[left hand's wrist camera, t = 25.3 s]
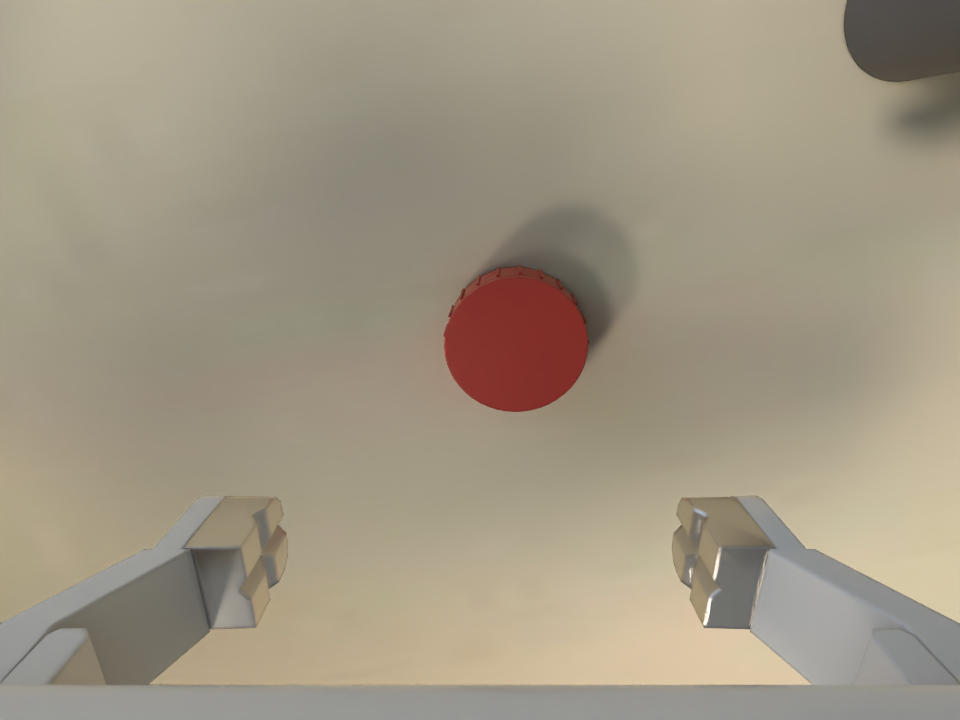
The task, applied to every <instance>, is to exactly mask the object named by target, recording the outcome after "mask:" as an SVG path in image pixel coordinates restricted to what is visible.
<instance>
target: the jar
mask: <svg viewBox="0 0 960 720" xmlns="http://www.w3.org/2000/svg"><path fill="white" fill-rule="evenodd" d="M844 26H845V37H846V41H847V45H848V48H849V51H850V53H851V55H852V57H853V58H854V60H855V61H856V62H857V64H858V65H859V66H860V67H861V68H862V69H863V70H864V71H866V72H867V73H869V74H870V75H872V76H874V77H876V78H879V79H882V80H887V81H896V82H898V81H908V80H914V79H919V78H925V77H930V76H936V75H942V74H947V73H953V72H958V71H960V0H848V2H847V6H846V12H845V23H844Z"/></svg>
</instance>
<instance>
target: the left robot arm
mask: <svg viewBox="0 0 960 720" xmlns="http://www.w3.org/2000/svg"><path fill="white" fill-rule="evenodd" d="M282 517H283V510H282V505H281V501H280V500H279V499H278V498H277V497H248V496H228V497H227V496H203V497H200V498H198V499H197V500H196V501H195V502H194V503H193V504H192V505H191V507H190V508H189V509H188V510H187V511H186V512H185V513H184V515H183V516H182V517H181V518H180V519H179V520H178V522H177V523H176V524H175V525H174V526H173V527H172V528H171V530H170V531H169V532H168V533H167V534H166V535H165V536H164V538H163V539H162V540H161V541H160V542H159V543H158V544H157V546H156V547H155V548H154V549H145V550H143V551H141V552H139V553H137V554H135V555H133V556H131V557H129V558H127V559H125V560H123V561H121V562H119V563H117V564H115V565H113V566H111V567H109V568H107V569H106V570H104V571H102V572H100V573H98V574H96V575H94V576H92V577H90V578H88V579H86V580H84V581H82V582H80V583H78V584H76V585H74V586H72V587H70V588H68V589H67V590H65V591H63V592H61V593H59V594H57V595H55V596H53V597H51V598H49V599H47V600H45V601H43V602H41V603H39V604H37V605H35V606H33V607H31V608H29V609H27V610H26V611H24V612H22V613H20V614H18V615H16V616H14V617H12V618H10V619H8V620H6V621H4V622H2V623H0V720H960V624H959V623H957V622H956V621H954V620H952V619H950V618H948V617H946V616H944V615H942V614H940V613H938V612H936V611H934V610H932V609H930V608H928V607H926V606H924V605H922V604H920V603H919V602H917V601H915V600H913V599H911V598H909V597H907V596H905V595H903V594H901V593H899V592H897V591H895V590H893V589H891V588H889V587H887V586H885V585H884V584H882V583H880V582H878V581H876V580H874V579H872V578H870V577H868V576H866V575H864V574H862V573H860V572H858V571H856V570H854V569H852V568H850V567H849V566H847V565H845V564H843V563H841V562H839V561H837V560H835V559H833V558H831V557H829V556H827V555H825V554H823V553H821V552H819V551H817V550H815V549H806V548H805V547H804V546H803V544H802V543H801V542H800V541H799V540H798V539H797V538H796V536H795V535H794V534H793V533H792V532H791V531H790V530H789V528H788V527H787V526H786V525H785V524H784V523H783V522H782V520H781V519H780V518H779V517H778V516H777V515H776V514H775V512H774V511H773V510H772V509H771V508H770V507H769V506H768V504H767V503H766V502H765V501H764V500H763V499H762V498H760V497H758V496H732V497H698V498H681V500H680V502H679V504H678V509H677V517H678V518H679V520H680V522H681V524H682V525H681V526H680V527H679V528H678V529H677V530H676V531H675V532H674V534H673V543H672V553H673V562H674V565H675V569H676V572H677V574H678V576H679V578H680V581H681V582H682V583H684V584H685V585H686V586H688V587H689V588H691V595H690V601H691V603H692V605H693V607H694V609H695V611H696V613H697V615H698V617H699V619H700V621H701V623H702V625H703V627H704V628H727V629H750V632H751V633H752V634H754V635H755V636H756V637H757V638H758V639H760V640H761V641H762V642H763V643H764V644H765V645H767V646H768V647H769V648H770V649H771V650H772V651H774V652H775V653H776V654H777V655H778V656H779V657H781V658H782V659H783V660H784V661H785V662H786V663H788V664H789V665H790V666H791V667H792V668H793V669H795V670H796V671H797V672H798V673H799V674H800V675H802V676H803V677H804V678H805V679H806V680H807V681H809V682H810V683H811V684H812V685H148V684H149V683H150V682H151V681H153V680H154V679H155V678H156V677H157V676H158V675H160V674H161V673H162V672H163V671H164V670H166V669H167V668H168V667H169V666H170V665H171V664H173V663H174V662H175V661H176V660H177V659H178V658H180V657H181V656H182V655H183V654H184V653H185V652H187V651H188V650H189V649H190V648H191V647H193V646H194V645H195V644H196V643H197V642H198V641H200V640H201V639H202V638H203V637H204V636H205V635H207V634H208V633H209V632H210V629H232V628H256V627H257V625H258V623H259V621H260V619H261V617H262V615H263V613H264V611H265V609H266V607H267V605H268V603H269V601H270V595H269V588H271V587H272V586H274V585H275V584H276V583H278V582H279V581H280V578H281V576H282V574H283V572H284V569H285V565H286V560H287V556H288V541H287V534H286V532H285V531H284V530H283V529H282V528H281V527H280V526H279V525H278V524H279V522H280V520H281V518H282Z"/></svg>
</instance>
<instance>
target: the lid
mask: <svg viewBox="0 0 960 720" xmlns="http://www.w3.org/2000/svg"><path fill="white" fill-rule="evenodd" d="M577 304H578V303H577V301H576V299H575V297H574V295H573V294H570V293H569V292H568V291H567V290H566V288H565V287H564V286H563V285H562V284H561V282H560V280H559V279H557V280H555V279H554V278H552V277H551V276H549V275H547V274H545V273H543V272H542V270H540V269H539V270H538V271H537V270H534V269H529V268H523V267H521V265H518V267H509V268H503V269H500V268H499V267H498V268H497V270H495V271H492V272H489V273H487V274H485V275H483V276H480V275H479V276H478V277H477V279H476V280H475V281H474V282H472V283H471V284H470V285H469V286H468V287H467V288H466V289H464V288H463V289H462V292H461V295H460V297H459V298H458V300H457V302H456V304H455V306H454V305H452V307H451V310H450V313H449V316H448V317H450V320H449V323H448V324H447V326H446V329H445V332H444V337H445V344H444V348H445V357H446V361H447V365H448V367H449V370H450V372H451V374H452V376H453V378H454V379H455V381H456V382H457V383H458V385H459V386H460V387H461V388H462V389H463V390H464V391H465V392H466V393H467V394H468V395H469V396H470V397H472V398H473V399H475V400H476V401H478V402H479V403H481V404H484V405H486V406H488V407H491V408H494V409H497V410H503V411H511V412H520V411H529V410H534V409H537V408H541V407H543V406H546V405H548V404H550V403H552V402H554V401H555V400H557V399H558V398H560V397H561V396H562V395H564V394H565V393H566V392H567V391H568V390H569V389H570V388H571V387H572V386H573V384H574V383H575V382H576V380H577V379H578V377H579V376H580V374H581V372H582V370H583V367H584V365H585V361H586V358H587V352H588V343H589V341H588V336H587V330H586V326H585V324H586V320H585V318H584V316H583V314H582V312H581V311H579V309H578V307H577Z"/></svg>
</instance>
